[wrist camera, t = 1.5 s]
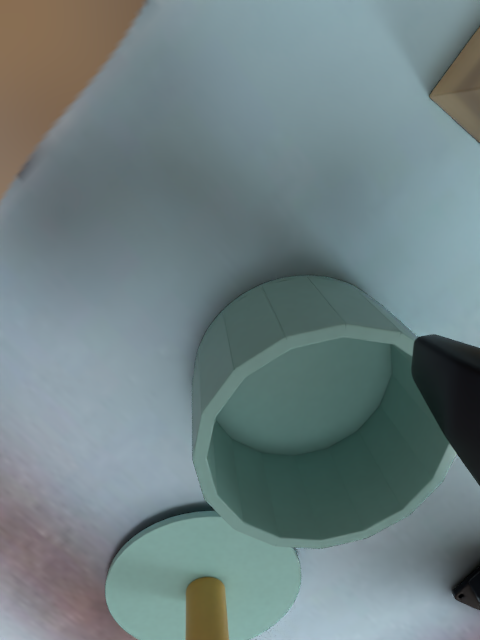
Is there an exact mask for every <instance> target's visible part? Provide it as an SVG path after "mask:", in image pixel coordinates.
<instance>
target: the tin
mask: <svg viewBox="0 0 480 640" xmlns="http://www.w3.org/2000/svg"><path fill="white" fill-rule="evenodd" d="M416 338H418V337H417V336H416V335H415V334H414V333H413V332H412V331H410V330H409V329H408V328H407V327H406V326H405V325H404V324H403V323H401V322H400V321H399V320H398V319H397V318H396V317H395V316H394V315H392V314H391V313H390V312H389V311H388V310H387V309H386V308H385V307H383V306H382V305H381V304H380V303H378V302H377V301H375V300H374V299H372V298H371V297H369V296H368V295H367V294H366V293H364V292H363V291H361V290H360V289H358V288H356V287H354V286H353V285H352V284H349V283H345V282H343V281H340V280H337V279H333V278H329V277H324V276H314V275H301V276H291V277H284V278H280V279H276V280H273V281H269V282H266V283H264V284H262V285H259V286H257V287H255V288H253V289H251V290H249V291H247V292H246V293H244V294H242V295H241V296H239V297H238V298H237V299H235V300H234V301H233V302H231V303H230V304H229V305H228V306H227V307H226V308H225V309H224V310H223V311H222V312H221V313H220V314H219V315H218V316H217V317H216V319H215V320H214V321H213V322H212V324H211V325H210V326H209V328H208V330H207V331H206V333H205V335H204V337H203V339H202V341H201V344H200V345H199V348H198V352H197V356H196V359H195V366H194V374H193V380H192V460H193V463H194V467H195V470H196V473H197V477H198V480H199V483H200V487H201V490H202V493H203V496H204V499H205V500H206V502H207V503H208V504H209V505H210V506H211V507H212V508H213V509H214V510H215V511H216V512H217V513H218V514H219V515H220V516H221V517H222V518H223V519H224V520H225V521H226V522H227V523H228V524H229V525H230V526H231V527H232V528H233V529H235V530H236V531H238V532H241V533H243V534H246V535H248V536H250V537H253V538H255V539H258V540H260V541H263V542H265V543H268V544H270V545H272V546H276V547H294V548H311V549H320V548H321V549H323V548H327V547H332V546H336V545H340V544H345V543H349V542H353V541H358V540H362V539H366V538H369V537H371V536H372V535H374V534H376V533H378V532H380V531H382V530H383V529H385V528H387V527H389V526H391V525H393V524H394V523H396V522H398V521H400V520H402V519H404V518H405V517H407V516H409V515H410V514H411V513H412V512H413V511H414V510H415V509H416V508H417V507H418V506H419V505H420V504H421V503H422V502H423V501H424V500H425V499H426V498H427V497H428V496H429V495H430V494H431V493H432V492H433V491H434V490H435V489H436V488H437V487H438V486H439V485H440V484H441V483H442V482H443V481H444V479H445V476H446V474H447V472H448V470H449V468H450V466H451V464H452V462H453V460H454V458H455V455H456V452H455V450H454V449H453V448H452V446H451V445H450V443H449V442H448V440H447V439H446V437H445V436H444V434H443V432H442V431H441V429H440V427H439V425H438V424H437V422H436V420H435V418H434V416H433V415H432V413H431V411H430V409H429V407H428V406H427V404H426V402H425V400H424V398H423V397H422V395H421V393H420V391H419V389H418V388H417V386H416V384H415V382H414V380H413V377H412V374H411V365H412V355H413V345H414V341H415V339H416Z"/></svg>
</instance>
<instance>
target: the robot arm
mask: <svg viewBox="0 0 480 640" xmlns="http://www.w3.org/2000/svg"><path fill="white" fill-rule="evenodd" d="M411 374H412V377H413V380H414V382H415V384H416V386H417V388H418V389H419V391H420V393H421V395H422V397H423V398H424V400H425V402H426V404H427V406H428V407H429V409H430V411H431V413H432V415H433V416H434V418H435V420H436V422H437V424H438V425H439V427H440V429H441V431H442V432H443V434H444V436H445V437H446V439H447V440H448V442H449V443H450V445H451V446H452V448H453V449H454V450H455V452H456V453H457V455H458V456H459V457H460V459H461V460H462V462H463V463H464V464H465V466H466V467H467V469H468V470H469V471H470V473H471V474H472V476H473V477H474V479H475V480H476V481H477V483H478V484H479V486H480V348H478V347H475V346H471V345H468V344H465V343H462V342H458V341H455V340H452V339H449V338H445V337H442V336H439V335H427V336H421V337H418V338H416V339H415V341H414V345H413V355H412V365H411ZM452 594H453V596H454V597H455V599H456V600H457V601H460V602H462V603H464V604H467V605H469V606H471V607H474V608H476V609H478V610H480V566H479V567H478V568H477V569H476V570H475V571H474V572H473V573H471V574H470V575H469V576H468V577H467V578H466V579H465V580H464V581H463V582H461V583H460V584H459V585H458V586H457V587H456V588H455V589H454V590H453V591H452Z"/></svg>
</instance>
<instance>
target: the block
mask: <svg viewBox="0 0 480 640" xmlns="http://www.w3.org/2000/svg"><path fill="white" fill-rule="evenodd" d="M429 97H430V98H431V99H432V100H433V101H434V102H436V103H437V104H438V105H439V106H440V107H441V108H442V109H443V110H444V111H445V112H446V113H448V114H449V115H450V116H451V117H452V118H453V119H454V120H455V121H456V122H457V123H458V124H460V125H461V126H462V127H463V128H464V129H465V130H466V131H467V132H468V133H469V134H471V135H472V136H473V137H474V138H475V139H476V140H477V141H478V142H479V143H480V27H479V28H478V29H477V31H476V32H475V34H474V35H473V36H472V38H471V39H470V40H469V42H468V43H467V44H466V46H465V47H464V49H463V50H462V51H461V53H460V54H459V55H458V57H457V58H456V60H455V61H454V62H453V64H452V65H451V66H450V68H449V69H448V70H447V72H446V73H445V75H444V76H443V77H442V79H441V80H440V81H439V83H438V84H437V86H436V87H435V88H434V90H433V91H432V92H431V94H430V96H429Z"/></svg>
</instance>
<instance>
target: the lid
mask: <svg viewBox="0 0 480 640" xmlns="http://www.w3.org/2000/svg"><path fill="white" fill-rule="evenodd" d="M300 585H301V567H300V563H299V560H298V556H297V553H296V551H295V549H294V547H276V546H272V545H270V544H268V543H265V542H263V541H260V540H258V539H255V538H253V537H250V536H248V535H246V534H243V533H241V532H238V531H236V530H235V529H233V528H232V527H231V526H230V525H229V524H228V523H227V522H226V521H225V520H224V519H223V518H222V517H221V516H220V515H219V514H218V513H217V512H216V511H200V512H192V513H186V514H181V515H178V516H174V517H171V518H168V519H165V520H162V521H160V522H157V523H155V524H153V525H151V526H149V527H148V528H146V529H144V530H143V531H141V532H140V533H138V534H137V535H135V536H134V537H133V538H132V539H130V540H129V541H128V542H127V543H126V544H125V545H124V546H123V547H122V548H121V550H120V551H119V552H118V553H117V555H116V556H115V558H114V560H113V561H112V563H111V566H110V568H109V570H108V574H107V579H106V584H105V597H106V603H107V606H108V608H109V611H110V613H111V615H112V616H113V618H114V620H115V621H116V622H117V623H118V624H119V625H120V627H122V628H123V629H124V630H125V631H126V632H127V633H129V634H130V635H132V636H134V637H135V638H137V639H139V640H249V639H251V638H254V637H256V636H258V635H259V634H261V633H263V632H264V631H266V630H268V629H269V628H270V627H272V626H273V625H274V624H276V623H277V622H278V621H279V620H280V619H281V618H282V617H283V616H284V615H285V614H286V613H287V612H288V610H289V609H290V608H291V606H292V604H293V603H294V601H295V599H296V597H297V595H298V592H299V588H300Z"/></svg>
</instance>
